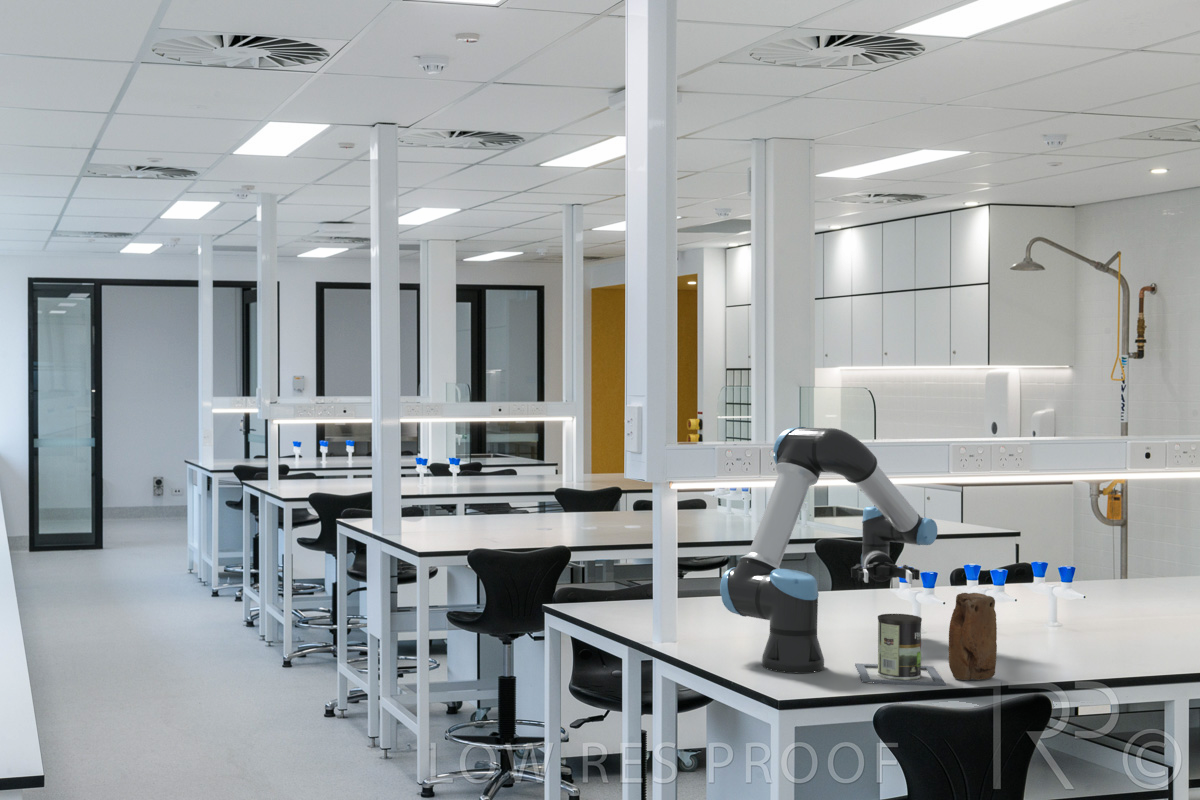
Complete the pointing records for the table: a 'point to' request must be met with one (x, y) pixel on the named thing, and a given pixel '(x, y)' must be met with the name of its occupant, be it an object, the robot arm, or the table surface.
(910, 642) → the coffee can
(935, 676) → the flat grey frame
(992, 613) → the brown rough upright block
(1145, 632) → the table surface
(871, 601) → the table surface
